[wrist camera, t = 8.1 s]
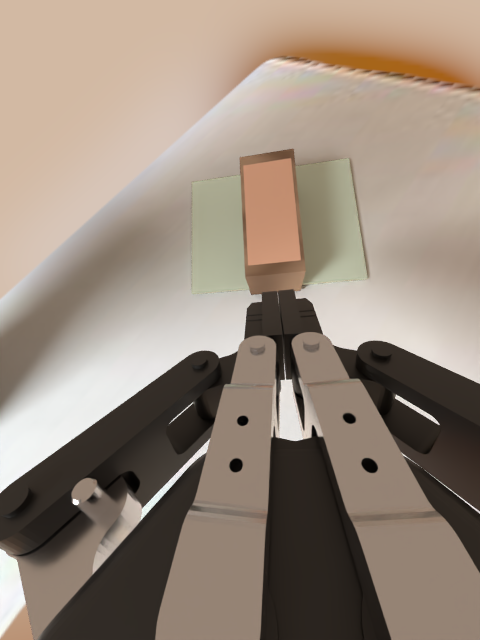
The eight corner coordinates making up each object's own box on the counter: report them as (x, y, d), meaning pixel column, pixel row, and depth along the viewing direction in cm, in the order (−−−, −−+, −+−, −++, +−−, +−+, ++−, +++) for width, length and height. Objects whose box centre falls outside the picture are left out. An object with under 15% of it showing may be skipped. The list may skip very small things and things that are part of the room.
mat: (192, 294, 27) (191, 293, 27) (192, 184, 30) (191, 182, 30) (366, 279, 25) (367, 278, 24) (348, 161, 28) (349, 158, 27)
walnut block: (244, 276, 21) (239, 156, 23) (251, 294, 26) (246, 194, 28) (305, 271, 20) (293, 148, 23) (300, 290, 25) (290, 187, 27)
